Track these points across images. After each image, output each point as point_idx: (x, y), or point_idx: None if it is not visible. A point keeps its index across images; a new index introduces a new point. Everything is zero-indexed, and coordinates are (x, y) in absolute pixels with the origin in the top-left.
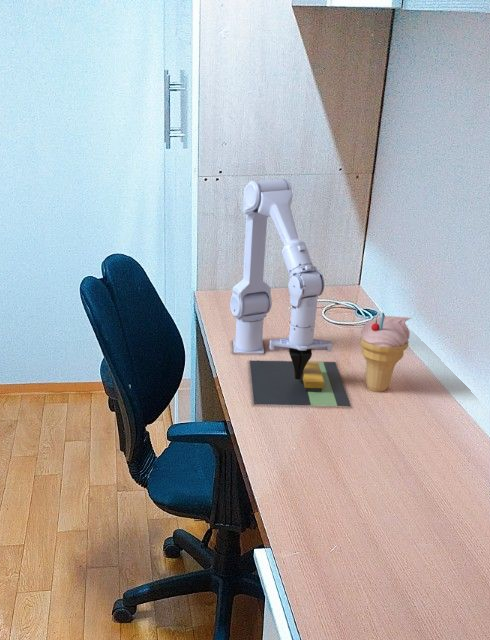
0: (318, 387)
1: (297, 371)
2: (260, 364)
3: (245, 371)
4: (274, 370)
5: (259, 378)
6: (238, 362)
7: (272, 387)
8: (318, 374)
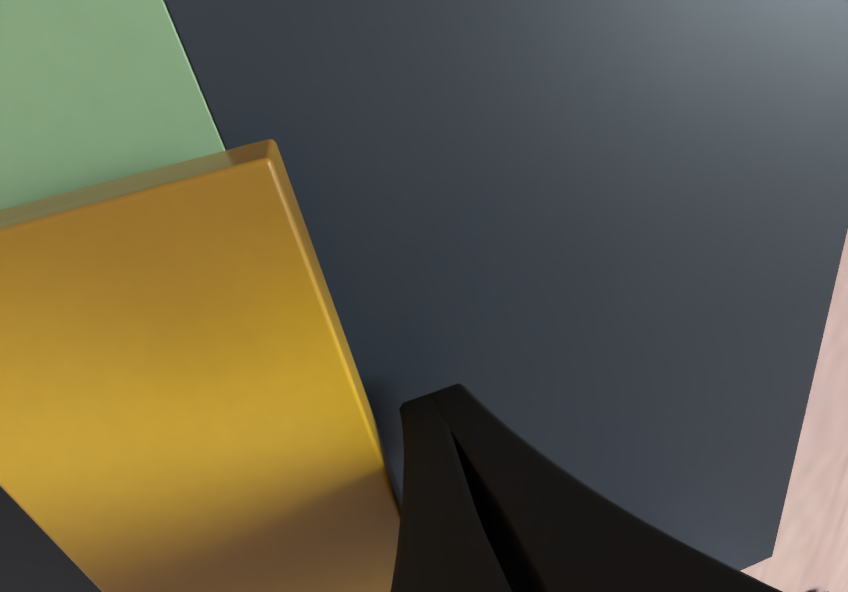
0: (16, 209)
1: (487, 453)
2: (717, 543)
3: (823, 416)
4: (632, 509)
5: (769, 325)
6: (830, 511)
7: (682, 157)
8: (131, 538)
